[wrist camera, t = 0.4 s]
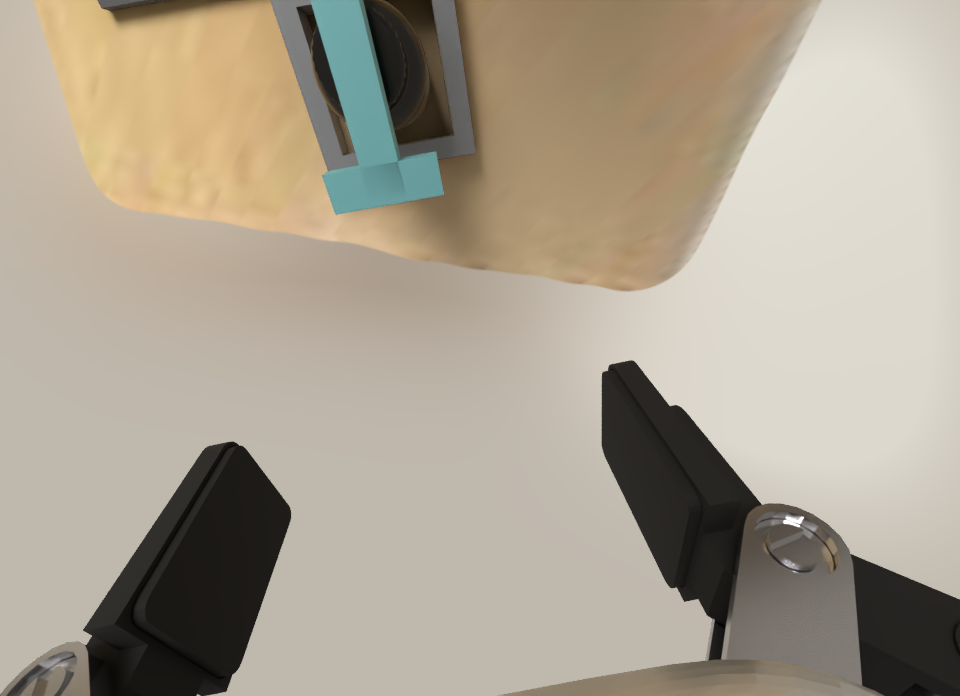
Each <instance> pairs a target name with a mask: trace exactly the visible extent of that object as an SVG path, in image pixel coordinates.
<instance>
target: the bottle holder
mask: <svg viewBox="0 0 960 696" xmlns="http://www.w3.org/2000/svg"><path fill="white" fill-rule="evenodd" d="M270 1H271V4H272V7H273V10H274V13H275V16H276V19H277V22H278V25H279V28H280V31H281V34H282V37H283V40H284V42H285V45H286V48H287V51H288V54H289V57H290V60H291V63H292V66H293V69H294V72H295V75H296V78H297V81H298V84H299V87H300V90H301V93H302V96H303V99H304V101H305V104H306V107H307V110H308V113H309V116H310V119H311V122H312V125H313V128H314V131H315V134H316V137H317V140H318V143H319V146H320V149H321V152H322V155H323V157H324V160H325V163H326V166H327V169H328V171H331V170H336V169H342V168H347V167H353V166H358V165H359V163H358V160H357V157H356V153H355V152H351V153H349V152H348V149H347V146H346V142H345V139H344V136H343V132H342V129H341V126H340V123H339V119H338V116H337V114H336V113H335V112H334V111H333V110H332V109H331V108H330V106H329V105H328V104H327V102H326V101H325V99H324V98H323V96H322V94H321V92H320V90H319V88H318V85H317V83H316V80H315V76H314V73H313V68H312V61H311V45H312V38H313V34H312V31H311V27H310V24H309V21H308V18H307V15H309V14H314V11H313V8H312V5H311V1H310V0H270ZM384 1H387V0H384ZM431 5H432V11H433V17H434V23H435V29H436V35H437V41H438V47H439V53H440V59H441V65H442V71H443V77H444V83H445V89H446V95H447V101H448V107H449V113H450V119H451V125H452V131H453V134H450V135H444V136H439V137H433V138H428V139H422V140H417V141H411V142H406V143H400V144H398V148H399V152H400V157H401V158H402V157H407V156H413V155H418V154H424V153H429V152H435V151H436V153H437V158H438V160H440V159H446V158H451V157H457V156H462V155H468V154H473V153H476V151H475V144H474V137H473V130H472V123H471V116H470V108H469V101H468V94H467V87H466V80H465V73H464V66H463V59H462V52H461V45H460V38H459V31H458V24H457V17H456V10H455V3H454V0H431Z"/></svg>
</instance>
